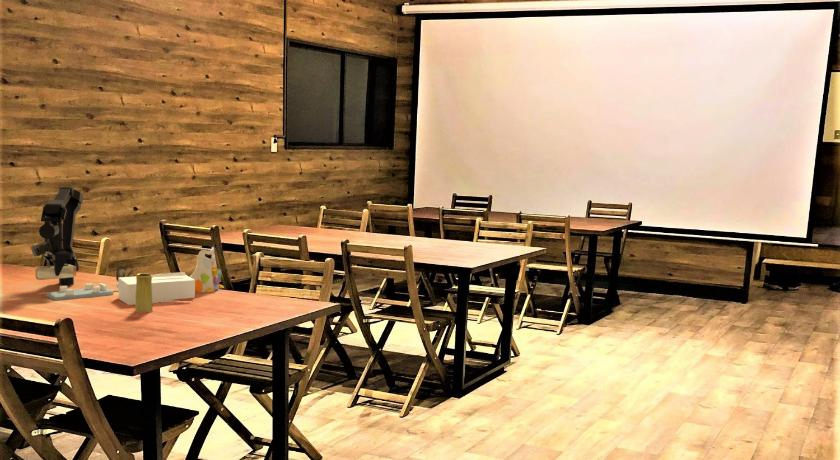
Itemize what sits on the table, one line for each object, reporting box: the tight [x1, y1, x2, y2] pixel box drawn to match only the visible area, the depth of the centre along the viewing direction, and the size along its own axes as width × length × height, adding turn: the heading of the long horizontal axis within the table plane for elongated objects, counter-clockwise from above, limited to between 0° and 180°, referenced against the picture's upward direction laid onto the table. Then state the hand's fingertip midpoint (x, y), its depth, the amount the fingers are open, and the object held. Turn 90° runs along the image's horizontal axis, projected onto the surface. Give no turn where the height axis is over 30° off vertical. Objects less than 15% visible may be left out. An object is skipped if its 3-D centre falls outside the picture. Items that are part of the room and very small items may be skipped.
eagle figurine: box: [115, 266, 135, 289], centre depth 351 cm, size 8×7×9 cm
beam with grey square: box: [34, 264, 77, 281], centre depth 341 cm, size 4×14×5 cm, turn 132°
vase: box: [134, 272, 153, 314], centre depth 310 cm, size 6×6×14 cm
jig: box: [45, 282, 114, 301], centre depth 336 cm, size 10×22×4 cm, turn 132°
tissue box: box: [117, 271, 196, 306], centre depth 334 cm, size 14×25×11 cm, turn 123°
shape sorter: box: [189, 246, 225, 293], centre depth 353 cm, size 20×10×18 cm, turn 168°
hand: (55, 274), depth 341 cm, fingers closed on beam with grey square, 4 cm apart
